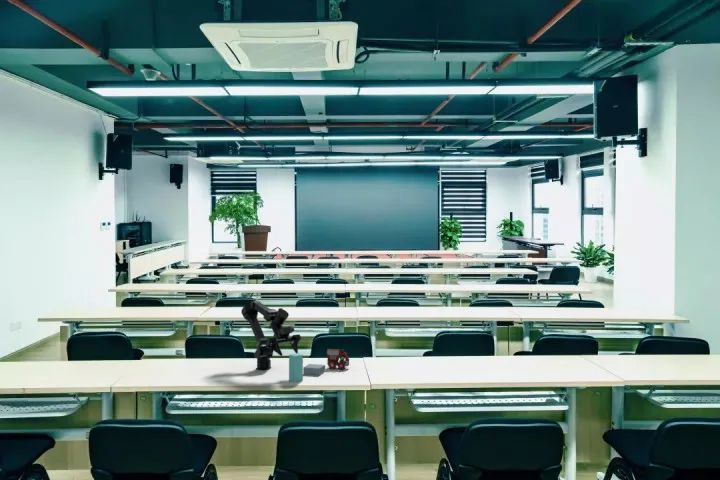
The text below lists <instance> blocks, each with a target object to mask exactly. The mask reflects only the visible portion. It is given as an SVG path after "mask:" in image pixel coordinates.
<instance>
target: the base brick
mask: <svg viewBox="0 0 720 480" xmlns="http://www.w3.org/2000/svg"><path fill="white" fill-rule="evenodd" d="M325 372H326V364H319V363H318V364H316V363H308V364H307V365H305V366H303V375H305V374H306V375H308V376H321V375H323V374H325Z"/></svg>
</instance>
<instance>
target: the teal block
mask: <svg viewBox="0 0 720 480" xmlns="http://www.w3.org/2000/svg"><path fill="white" fill-rule="evenodd" d="M303 367H304V355H303V354H301V353H289V354H288V381H291V382H293V383H296V382H302V381H304V376H303V375H304V374H303Z"/></svg>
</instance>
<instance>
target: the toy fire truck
mask: <svg viewBox="0 0 720 480" xmlns="http://www.w3.org/2000/svg"><path fill="white" fill-rule="evenodd" d="M326 355H327V362H326V364H327V367H328V368H329V369H330V370H334V369H335V368H336V367H337V368H338V370H341V371H342V370H344V369H345V368H346V367H349V366H350V358H349V356H348V353H347V352H346V351H345V350H344V348H342V349H333V348H332V349H331V348H327V349H326Z"/></svg>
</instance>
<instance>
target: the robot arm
mask: <svg viewBox="0 0 720 480" xmlns="http://www.w3.org/2000/svg"><path fill="white" fill-rule="evenodd" d="M241 314H242V315H241V316H242V317H243V318H244V320H246V321H247V322H248V323H249V326H250V328H251V330H252V333H253V336H254V338H255V340H256V343H257V344H256V350H255V351H254V353H253V354H254V355H253V356H254V358H255V359H256V367H255V370H261V371H262V370H263V371H267V370H269V369H271V368H272V364H271V363H272V361H271V358H272V357H273V356H274V352H275V353H276V354H278V355H279V356H280V357H283V352H282V350H281V347H280V346H279V344H285V343H289V344H290V346H291V348H292V350H293V351H294V354H296V353H298V352H299V349H298V348H299V347H298V344H299V342H300V341H301V339H302V336H301V334H292V333H293V332H294V331H295V327H294V325H293V324H292V325H291V324H290V325H289V326H283V325H285V323H286V322H287V319H288V317H289V316H290V315H289V312H288V311H287V310H285V309H283V307H281V308H280V307H279V308H278V309H275V308H269V307H268V306H266V305H265V304H264V303H262V301H260V300H253V301H250V302H249V303H248V304H246V305H244V306H243V307H242V308H241ZM259 314H261V315H262V316H263V317H262V318H263V319H264V321H266V322H270V323H269V326H268V329H270V330H272V332H273V337H268V339H267V337H266V336H265V334H264V331H263V329H262V326H261V324H260V321H259V319H258V315H259ZM290 334H292V335H290ZM290 336H291V337H290ZM298 354H299V353H298Z"/></svg>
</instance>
